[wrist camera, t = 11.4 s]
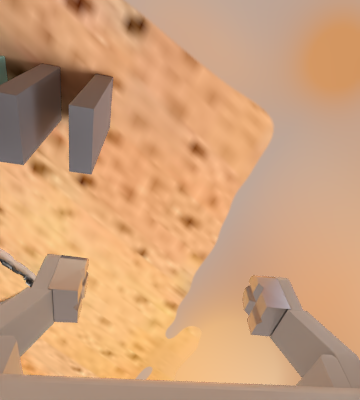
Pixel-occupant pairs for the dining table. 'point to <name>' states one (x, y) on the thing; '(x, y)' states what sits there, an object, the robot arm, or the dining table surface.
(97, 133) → the domino
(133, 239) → the dining table surface
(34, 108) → the domino
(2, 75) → the teal domino
